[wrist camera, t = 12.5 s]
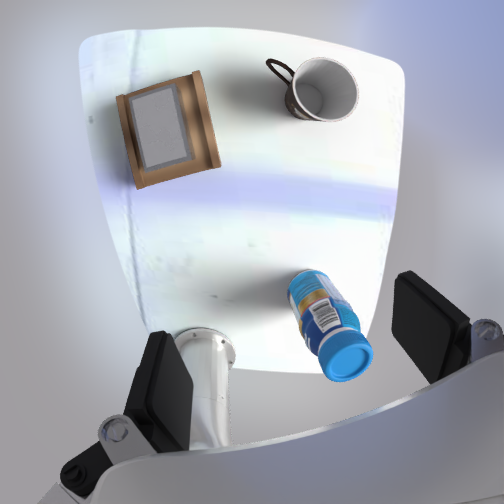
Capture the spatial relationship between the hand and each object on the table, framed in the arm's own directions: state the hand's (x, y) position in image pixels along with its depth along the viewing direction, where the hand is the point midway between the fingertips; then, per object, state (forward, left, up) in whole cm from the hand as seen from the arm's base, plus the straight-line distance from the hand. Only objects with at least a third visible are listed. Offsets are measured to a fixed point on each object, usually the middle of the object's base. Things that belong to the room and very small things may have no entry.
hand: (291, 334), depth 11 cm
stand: (+12, +8, -34) cm, 37 cm away
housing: (+12, +8, -30) cm, 34 cm away
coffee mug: (+14, -12, -34) cm, 39 cm away
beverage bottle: (-19, -8, -34) cm, 40 cm away
